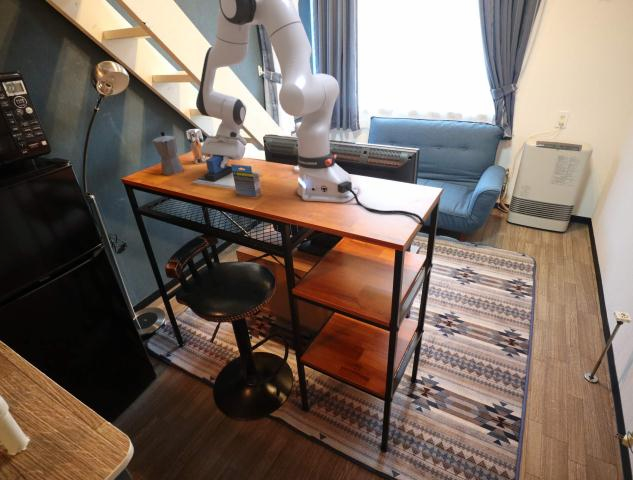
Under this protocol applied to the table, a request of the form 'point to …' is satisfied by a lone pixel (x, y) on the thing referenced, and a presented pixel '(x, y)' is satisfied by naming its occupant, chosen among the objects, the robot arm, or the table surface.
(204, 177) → the scribble
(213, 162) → the eraser
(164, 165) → the coffeepot
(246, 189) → the tape cartridge
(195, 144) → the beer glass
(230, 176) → the whiteboard
